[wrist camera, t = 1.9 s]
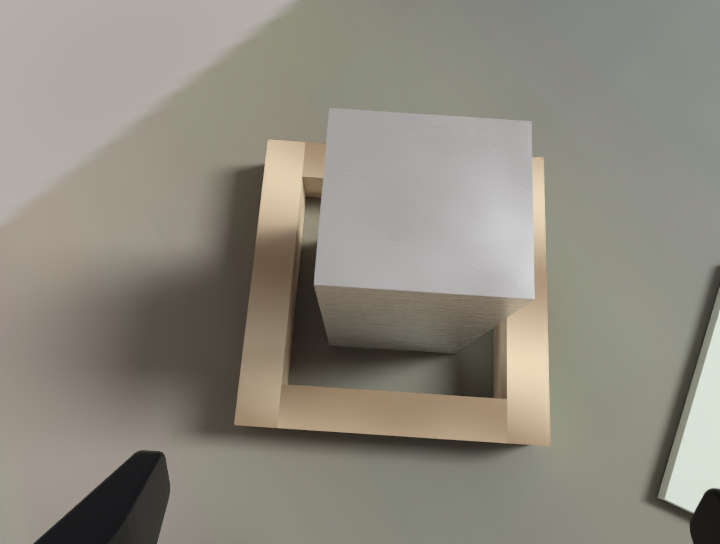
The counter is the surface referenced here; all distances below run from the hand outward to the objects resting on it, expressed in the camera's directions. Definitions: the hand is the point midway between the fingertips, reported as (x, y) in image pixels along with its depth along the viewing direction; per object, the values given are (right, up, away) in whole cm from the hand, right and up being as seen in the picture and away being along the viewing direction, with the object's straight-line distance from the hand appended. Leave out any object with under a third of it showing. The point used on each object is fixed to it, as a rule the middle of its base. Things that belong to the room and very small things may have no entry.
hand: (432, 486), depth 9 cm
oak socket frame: (0, +3, +14) cm, 14 cm away
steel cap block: (0, +3, +14) cm, 14 cm away
